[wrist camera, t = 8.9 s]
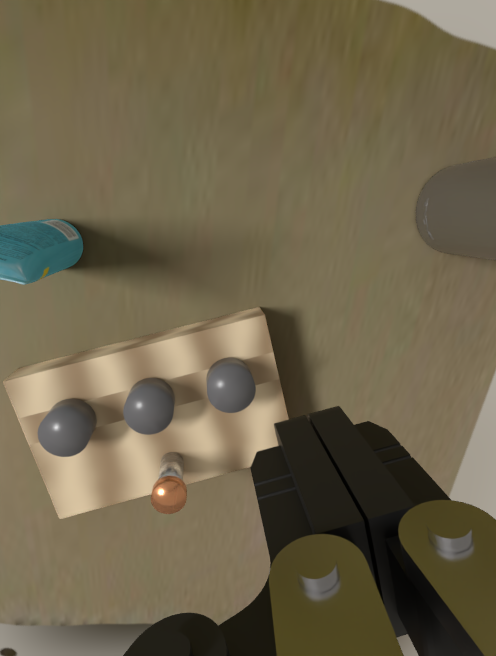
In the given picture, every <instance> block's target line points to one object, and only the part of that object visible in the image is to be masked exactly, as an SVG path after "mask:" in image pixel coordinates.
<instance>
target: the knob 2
mask: <svg viewBox="0 0 496 656" xmlns="http://www.w3.org/2000/svg"><path fill="white" fill-rule="evenodd" d="M206 382H207V395H208V399H209V401H210V403H211V404H212V405H213V406H214V407H215V408H216V409H218V410H220V411H222V412H225V413H236V412H239V411H242V410H244V409H245V408H247V407H248V406H249V405H250V404H251V402H252V401H253V399H254V397H255V392H256V386H255V382H254V379H253V377H252V374H251V371H250V369H249V367H248V366H247V365H246V364H245V363H244V362H243V361H241V360H239V359H237V358H230V357H229V358H223V359H220V360H218V361H217V362H215V363H214V364H213V365H212V366H211V367H210V369H209V371H208V373H207V378H206Z"/></svg>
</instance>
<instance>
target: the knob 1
mask: <svg viewBox="0 0 496 656" xmlns="http://www.w3.org/2000/svg"><path fill="white" fill-rule="evenodd" d="M96 423H97V418H96V414H95V412H94V410H93V409H92V407H91V406H90V405H89V404H87V403H86V402H84V401H82V400H79V399H65V400H62V401H60V402H58V403H56V404H55V405H54V406H53V407H52V409H51V410H50V411H49V412H48V414H47V415H46V416H45V418H44V419H43V420H42V422H41V423H40V425H39V428H38V439H39V442H40V444H41V445H42V447H43V448H44V449H45V450H46V451H47V452H49V453H51V454H53V455H55V456H59V457H70V456H74V455H76V454H78V453H80V452H81V451H83V450H84V449H85V447H86V446H87V444H88V442H89V440H90V438H91V436H92V434H93V432H94V430H95V427H96Z"/></svg>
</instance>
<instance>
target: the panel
mask: <svg viewBox="0 0 496 656" xmlns="http://www.w3.org/2000/svg"><path fill="white" fill-rule="evenodd" d="M229 357H230V358H237V359H239V360H241V361H243V362H244V363H245V364H246V365H247V366H248V367H249V369H250V371H251V374H252V377H253V379H254V382H255V386H256V392H255V397H254V399H253V401H252V402H251V404H250V405H249V406H248V407H247V408H245V409H244V410H242V411H239V412H236V413H225V412H222V411H220V410H218V409H216V408H215V407H214V406H213V405H212V404H211V403H210V401H209V399H208V395H207V382H206V378H207V373H208V371H209V369H210V367H211V366H212V365H213V364H214V363H215V362H217V361H218V360H220V359H223V358H229ZM145 378H158V379H161V380H163V381H165V382H166V383H167V384H169V385H170V387H171V388H172V390H173V392H174V395H175V405H174V413H173V418H172V421H171V423H170V424H169V426H168V427H167V428H166V429H164V430H163V431H161V432H159V433H156V434H151V435H145V434H141V433H138V432H136V431H134V430H133V429H131V428H130V427H129V426H128V424H127V423H126V421H125V419H124V415H123V409H124V405H125V402H126V400H127V397H128V395H129V392H130V390H131V388H132V387H133V386H134V384H136V383H137V382H138V381H140V380H142V379H145ZM3 384H4V386H5V388H6V391H7V393H8V396H9V398H10V400H11V403H12V405H13V408H14V410H15V413H16V415H17V417H18V420H19V422H20V425H21V427H22V429H23V432H24V434H25V437H26V439H27V442H28V444H29V446H30V449H31V451H32V454H33V456H34V458H35V461H36V463H37V466H38V468H39V471H40V473H41V475H42V478H43V480H44V483H45V485H46V487H47V490H48V492H49V495H50V497H51V499H52V502H53V504H54V507H55V509H56V512H57V514H58V516H59V519H62V518H65V517H69V516H73V515H76V514H80V513H84V512H87V511H91V510H95V509H98V508H102V507H106V506H109V505H113V504H117V503H120V502H124V501H128V500H131V499H135V498H138V497H142V496H146V495H149V494H152V489H153V486H154V484H155V482H156V481H157V480H158V477H159V470H160V463H161V459H162V457H163V456H164V455H165V454H166V453H169V452H176V453H179V454H180V455H181V456H182V457H183V460H184V468H183V482H184V483H185V485H186V484H190V483H193V482H197V481H201V480H204V479H208V478H212V477H215V476H219V475H222V474H226V473H230V472H233V471H237V470H241V469H244V468H248V467H251V465H252V463H253V460H254V458H255V455H256V453H257V451H261V450H265V449H268V448H272V447H276V446H279V445H278V441H277V437H276V433H275V428H274V423H277V422H281V421H285V420H289V418H288V414H287V410H286V405H285V401H284V397H283V392H282V388H281V383H280V379H279V375H278V370H277V366H276V362H275V357H274V353H273V348H272V344H271V340H270V335H269V331H268V327H267V322H266V318H265V314H264V313H263V312H262V310H261V309H260V307H257V308H253V309H249V310H245V311H241V312H237V313H233V314H229V315H225V316H221V317H218V318H214V319H210V320H206V321H202V322H198V323H194V324H190V325H186V326H182V327H178V328H174V329H170V330H166V331H162V332H159V333H155V334H151V335H147V336H143V337H139V338H135V339H131V340H127V341H123V342H119V343H115V344H111V345H107V346H103V347H99V348H96V349H92V350H88V351H84V352H80V353H76V354H72V355H68V356H64V357H60V358H56V359H52V360H48V361H44V362H40V363H37V364H33V365H29V366H25V367H21V368H18V369H17V370H16V371H15V372H14V373H13V374H11V375H10V376H9V377H8V378H7V379H5V380H4V381H3ZM65 399H79V400H82V401H84V402H86V403H87V404H89V405H90V406H91V407H92V409H93V410H94V412H95V414H96V418H97V423H96V427H95V430H94V432H93V434H92V436H91V438H90V440H89V442H88V444H87V446H86V447H85V449H84V450H83V451H81V452H80V453H78V454H76V455H74V456H70V457H59V456H55V455H53V454H51V453H49V452H47V451H46V450H45V449H44V448H43V447H42V445H41V444H40V442H39V439H38V428H39V425H40V423H41V422H42V420H43V419H44V418H45V416H46V415H47V414H48V412H49V411H50V410H51V409H52V407H53V406H54V405H55V404H56V403H58V402H60V401H62V400H65Z"/></svg>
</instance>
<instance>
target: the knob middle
mask: <svg viewBox="0 0 496 656" xmlns="http://www.w3.org/2000/svg"><path fill="white" fill-rule="evenodd" d="M174 405H175V395H174V392H173V390H172V388H171V387H170V385H169V384H167V383H166V382H165V381H163V380H161V379H158V378H145V379H142V380H140V381H138V382H137V383H136V384H134V386H133V387H132V388H131V390H130V392H129V395H128V397H127V400H126V402H125V405H124V409H123V415H124V419H125V421H126V423H127V424H128V426H129V427H130V428H131V429H133V430H134V431H136V432H138V433H141V434H145V435H151V434H156V433H159V432H161V431H163V430H164V429H166V428H167V427H168V426H169V424H170V423H171V421H172V418H173V413H174Z"/></svg>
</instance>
